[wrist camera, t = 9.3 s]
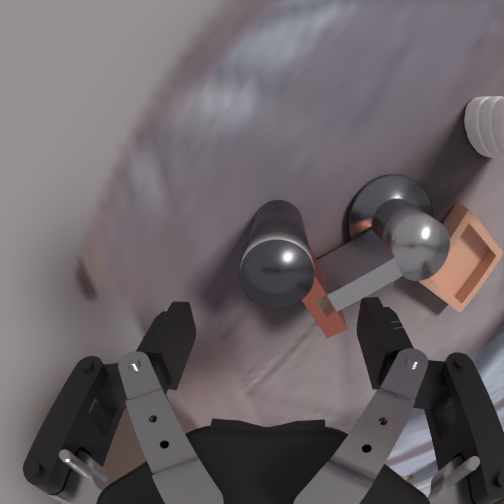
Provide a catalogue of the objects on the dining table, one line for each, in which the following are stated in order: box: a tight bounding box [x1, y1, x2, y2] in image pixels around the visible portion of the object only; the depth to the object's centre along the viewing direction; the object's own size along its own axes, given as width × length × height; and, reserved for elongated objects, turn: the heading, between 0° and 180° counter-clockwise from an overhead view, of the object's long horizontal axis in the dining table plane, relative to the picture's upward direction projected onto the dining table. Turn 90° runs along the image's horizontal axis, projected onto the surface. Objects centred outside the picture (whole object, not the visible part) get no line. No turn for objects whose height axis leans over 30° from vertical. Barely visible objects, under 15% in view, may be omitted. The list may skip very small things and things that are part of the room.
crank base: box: [348, 174, 433, 241], centre depth 23 cm, size 9×9×1 cm
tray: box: [418, 203, 503, 313], centre depth 23 cm, size 9×9×2 cm
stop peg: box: [240, 200, 314, 308], centre depth 21 cm, size 4×4×10 cm
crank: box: [302, 198, 450, 338], centre depth 21 cm, size 12×6×6 cm, turn 124°
